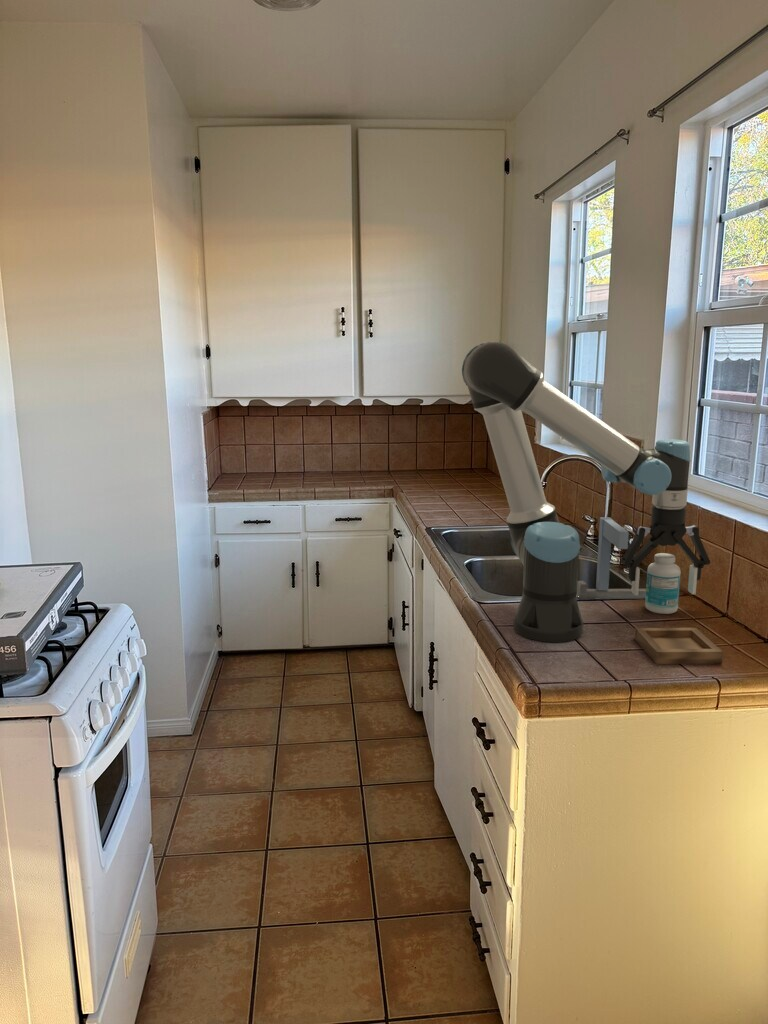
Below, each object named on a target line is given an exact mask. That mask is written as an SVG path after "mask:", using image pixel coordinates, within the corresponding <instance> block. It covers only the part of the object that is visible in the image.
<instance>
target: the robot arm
mask: <svg viewBox="0 0 768 1024" xmlns="http://www.w3.org/2000/svg"><path fill="white" fill-rule="evenodd" d="M461 376H462V379H463V382H464V383H465V385H466V386H467V389H468V392H469V396H470V400H471V403H472V407H473V409H474V411H476V412H478V413H480V414H481V415H482V416H483V420H484V422H485V427H486V431H487V434H488V437H489V440H490V444H491V448H492V452H493V454H494V458H495V461H496V466H497V469H498V471H499V472H498V473H499V475H500V480H501V482H502V485H503V486H502V487H503V488H504V492H505V496H506V499H507V503H508V506H509V514H508V515H507V517H506V524H507V525H508V530H509V534H510V543H511V547H512V550H513V552H514V554H515V555H516V557H517V558H518V559H519V560H520V562H521V564H522V565H523V574H522V575H523V579H522V585H523V586H522V596H521V599H520V601H519V604H518V606H517V609H516V611H515V614H514V617H513V629H514V631H515V632H516V633H517V634H518V635H519V636H522V637H524V638H528V639H529V640H530V639H531V640H534V641H539V642H547V643H548V642H549V643H564V642H565V643H566V642H570V641H575V640H577V639H579V638H581V637H582V636H583V634H584V621H583V617H582V613H581V610H580V606H579V603H578V599H577V598H578V597H577V581H578V579H579V577H578V576H579V575H578V574H579V559H580V557H579V556H580V550H581V542H580V535H579V533H578V531H577V530H576V529H575V528H574V527H573V526H570V525H567V524H566V525H565V523H561V522H560V520H559V517H558V513H557V510H556V507H555V505H553V504H551V503H550V502H548V501H547V498H546V496H545V492H544V488H543V484H542V480H541V478H540V474H539V473H540V472H539V470H538V469H539V468H538V465H537V463H536V460H535V459H536V458H535V455H534V451H533V449H532V445H531V444H532V443H531V441H530V438H529V434H528V430H527V426H526V423H525V419H524V416H523V412H524V413H526V414H527V415H529V416H530V417H532V418H533V419H535V421H537V422H538V423H540V424H542V425H543V426H545V427H546V428H547V429H549V430H550V431H552V432H553V433H555V434H556V435H557V436H559V437H561V438H562V439H563V440H565V441H567V442H568V443H569V444H571V445H573V447H575V448H576V449H578V450H579V451H581V452H582V453H583V454H586V455H587V456H588V457H590V459H592V460H594V461H595V462H597V463H598V464H600V472H601V476H602V479H603V481H604V482H607V483H615V484H618V483H625V484H626V485H628V486H630V487H632V488H634V489H635V490H637V491H638V492H640V493H641V494H645V495H649V496H652V499H651V504H652V505H653V506H652V507H651V518H650V526H649V527H646V526H641V525H637V527H636V531H635V534H634V537H633V538H632V540H631V542H630V544H628V549H626V550H625V553H624V555H623V556H622V558H621V560H620V562H621V563H622V564H623V565H624V566H626V567H628V580H629V581H631V589H632V590H631V592H632V593H633V594H634V595H638V592H639V589H640V588H639V587H640V575H641V574H640V572H641V569H640V568H639V567H638V566H639V565H640V564H641V563H642V562H643V561H644V560H645V558H647V557H648V555H650V554H651V552H652V551H654V549H656V548H657V547H658V546H661V547H666V546H672V547H674V546H676V545H678V547H679V548H680V549H681V551H683V553H684V554H685V555H686V557H687V558H688V559H689V560H690V561H691V563H692V564H689V571H688V584H687V586H688V587H687V591H688V592H689V593H690V594H691V595H697V594H696V593H697V581H699V580H701V578H702V576H701V575H702V569H703V568H704V567H705V566H706V565H707V566H709V565H710V564H711V561H710V558H709V556H708V553H707V551H706V549H705V546H704V544H703V542H702V540H701V538H700V529H699V527H698V526H696V525H695V524H691V525H689V526H686V520H687V519H686V517H687V508H685V507H686V506H687V502H688V486H689V485H688V484H689V474H690V473H689V472H690V464H691V463H690V462H691V445H690V443H689V442H688V441H686V440H684V439H683V440H682V439H675V438H674V439H672V438H669V439H667V438H665V439H659V440H657V441H656V442H655V446H654V448H649V449H648V448H647V449H643V448H641V447H639V445H637V443H635V442H633V441H632V440H630V439H629V438H627V437H626V436H624V435H623V434H621V433H620V432H619V431H617V430H616V429H615V428H613V427H612V426H611V425H609V424H607V422H604V421H603V420H601V419H600V418H599V417H597V416H596V415H594V414H593V413H592V412H590V411H589V410H587V409H586V408H584V407H583V406H582V405H580V404H579V403H578V402H576V401H575V400H573V399H571V398H570V397H569V396H568V395H566V394H564V393H563V392H562V391H561V390H559V389H558V388H556V387H555V386H553V385H552V384H550V383H549V382H548V381H546V380H545V379H544V373H543V372H542V371H541V370H540V369H538V368H536V367H535V366H534V365H532V364H531V363H530V362H529V361H528V360H526V358H524V357H523V356H522V355H521V354H520V353H519V352H518V351H517V350H515V349H514V348H513V347H511V346H510V345H508V344H506V343H503V342H499V341H493V342H492V341H491V342H490V341H488V342H484V343H480V344H477V345H475V346H474V347H473V348H472V349H470V350H469V351H468V352H467V353H466V355H465V357H464V360H463V362H462V367H461ZM522 411H523V412H522ZM686 533H687V535H689V537H690V538H691V541H692V543H693V546H694V548H695V550H696V553H697V555H698V556H697V555H696V554H695V553H694V552H693V550H692V549H691V548H690V547H689V545H688V544H687V543H686V542H685V540H684V539H683V537H684V536H685V535H686ZM648 534H650V537H649V538H648V539H647V540H646V543H644V545H643V546H642V547H641V544H642V543H643V541H644V539H645V537H646V536H647V535H648ZM640 547H641V548H640ZM639 548H640V549H639ZM698 557H699V558H698Z"/></svg>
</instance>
